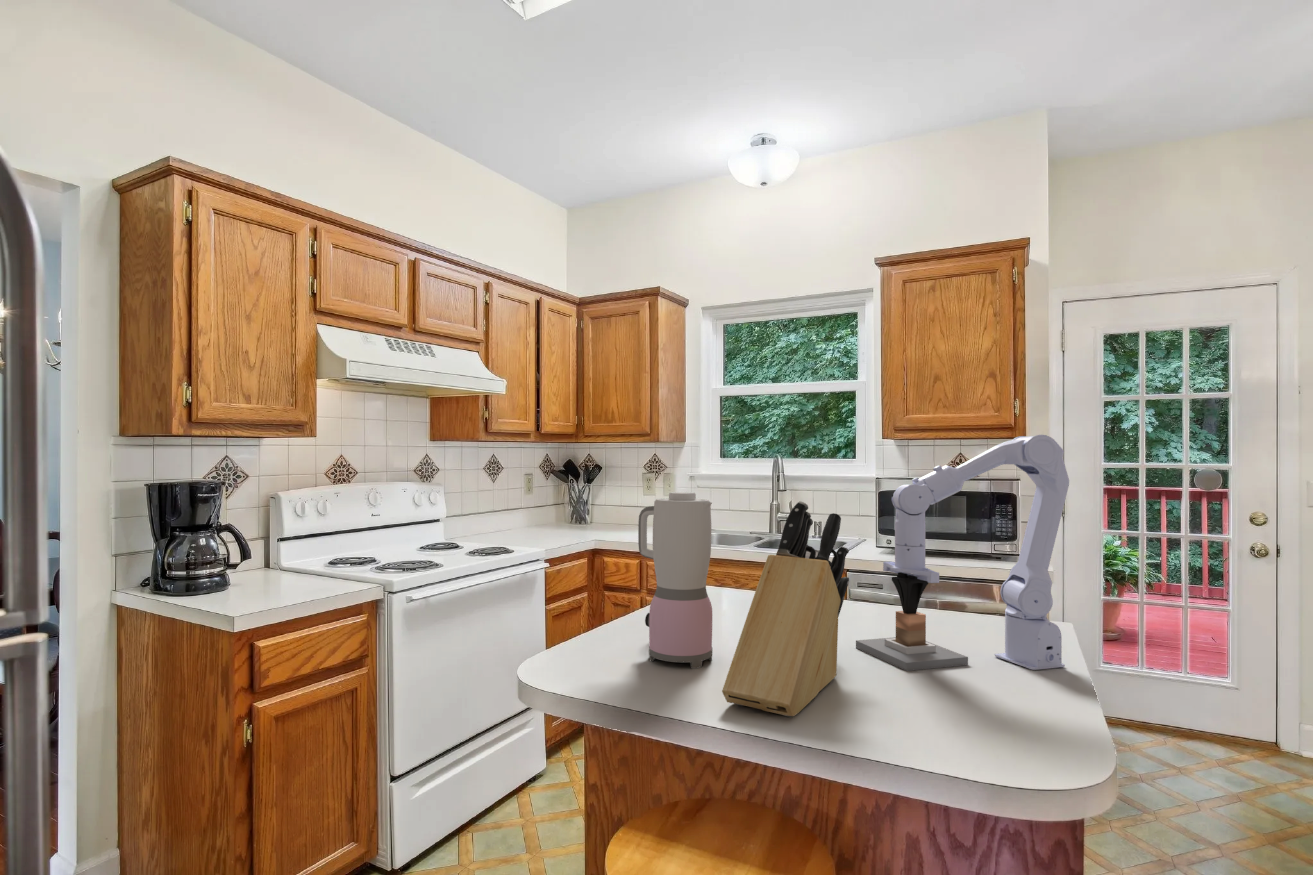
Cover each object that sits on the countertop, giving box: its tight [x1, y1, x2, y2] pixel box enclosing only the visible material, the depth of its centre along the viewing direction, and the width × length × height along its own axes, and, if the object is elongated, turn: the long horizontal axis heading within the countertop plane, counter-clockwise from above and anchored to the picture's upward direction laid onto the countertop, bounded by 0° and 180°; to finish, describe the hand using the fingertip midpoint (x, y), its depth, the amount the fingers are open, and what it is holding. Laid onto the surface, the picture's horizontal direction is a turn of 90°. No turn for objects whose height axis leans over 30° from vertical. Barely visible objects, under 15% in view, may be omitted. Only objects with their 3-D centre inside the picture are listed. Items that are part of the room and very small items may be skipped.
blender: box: [637, 491, 713, 669], centre depth 134 cm, size 16×12×32 cm
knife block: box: [721, 500, 850, 717], centre depth 118 cm, size 11×35×31 cm, turn 150°
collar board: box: [855, 636, 969, 672], centre depth 137 cm, size 16×14×3 cm
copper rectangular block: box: [895, 610, 927, 647], centre depth 137 cm, size 4×4×7 cm
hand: (909, 613), depth 137 cm, fingers closed, pressing on copper rectangular block
